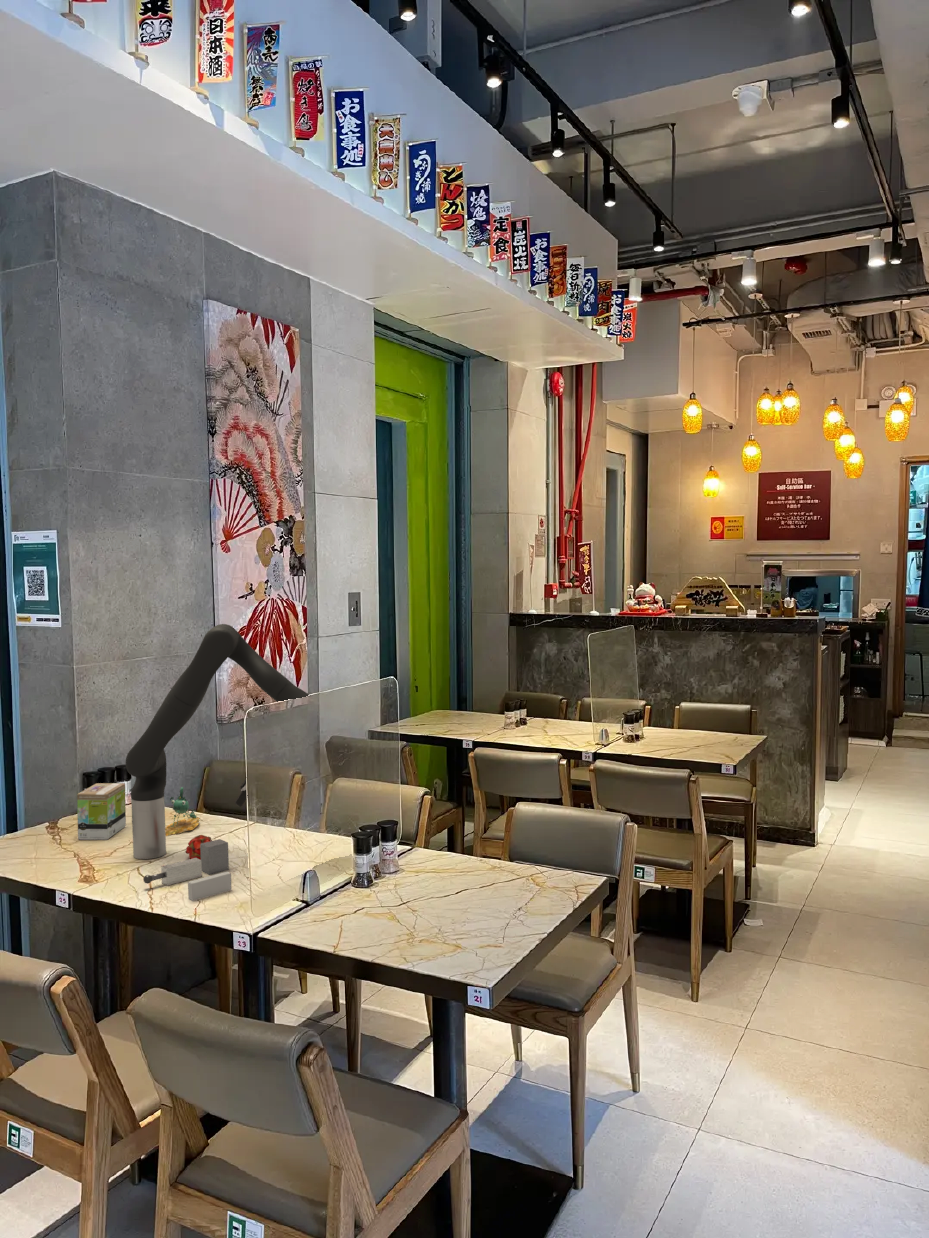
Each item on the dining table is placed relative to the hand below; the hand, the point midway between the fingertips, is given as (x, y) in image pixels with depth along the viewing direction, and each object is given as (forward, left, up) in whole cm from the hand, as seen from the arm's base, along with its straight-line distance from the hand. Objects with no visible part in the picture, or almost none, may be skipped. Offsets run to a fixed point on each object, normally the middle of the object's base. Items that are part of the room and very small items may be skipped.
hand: (243, 807), depth 264 cm
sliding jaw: (0, -22, -16) cm, 27 cm away
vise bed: (+5, -19, -17) cm, 26 cm away
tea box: (-63, -15, -18) cm, 67 cm away
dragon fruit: (-13, -6, -18) cm, 22 cm away
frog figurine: (-49, +6, -18) cm, 52 cm away
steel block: (-1, -9, -17) cm, 20 cm away
